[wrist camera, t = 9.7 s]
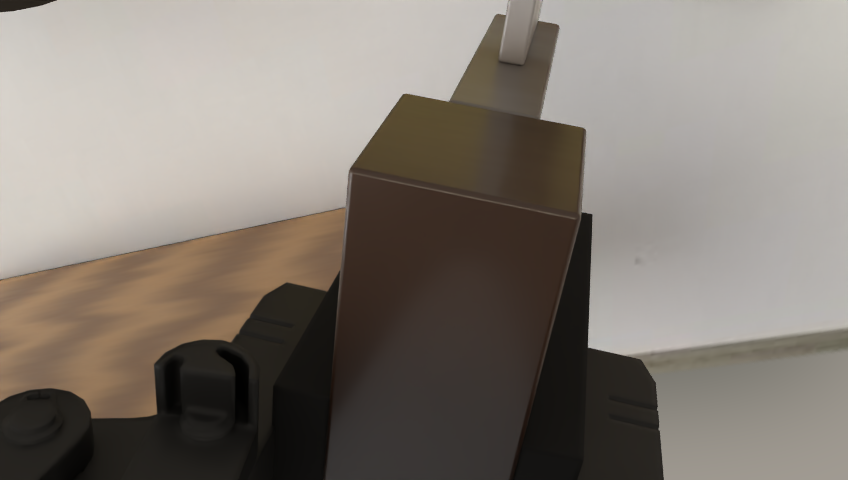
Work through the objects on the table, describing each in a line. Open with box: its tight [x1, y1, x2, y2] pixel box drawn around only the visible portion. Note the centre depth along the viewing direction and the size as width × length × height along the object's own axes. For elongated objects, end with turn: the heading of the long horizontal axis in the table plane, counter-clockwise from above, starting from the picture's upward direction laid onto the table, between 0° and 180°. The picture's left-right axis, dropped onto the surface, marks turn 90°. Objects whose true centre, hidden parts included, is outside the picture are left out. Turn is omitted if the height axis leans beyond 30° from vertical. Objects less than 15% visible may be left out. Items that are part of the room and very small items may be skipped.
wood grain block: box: [0, 208, 346, 418], centre depth 34 cm, size 24×6×14 cm, turn 108°
